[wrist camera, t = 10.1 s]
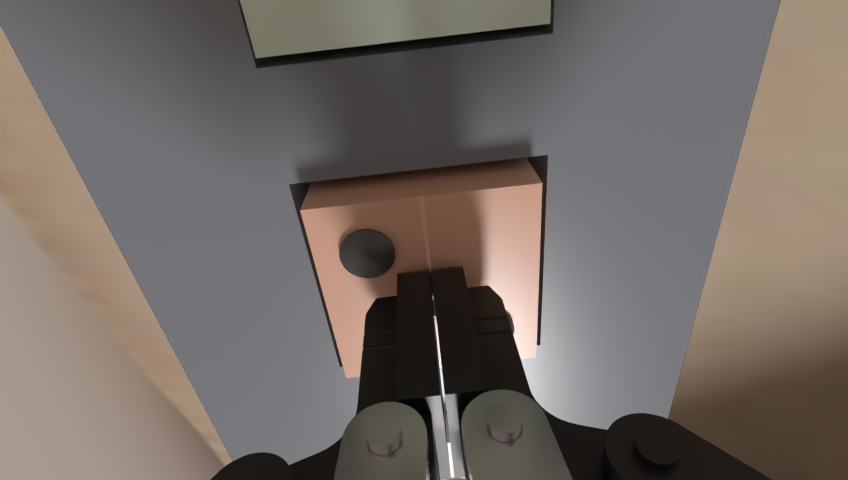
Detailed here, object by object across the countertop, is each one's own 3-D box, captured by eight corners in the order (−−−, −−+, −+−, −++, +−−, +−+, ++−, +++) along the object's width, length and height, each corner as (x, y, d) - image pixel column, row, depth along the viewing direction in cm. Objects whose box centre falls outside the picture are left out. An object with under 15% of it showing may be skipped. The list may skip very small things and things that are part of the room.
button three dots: (327, 137, 13) (299, 213, 9) (501, 117, 13) (544, 185, 9) (358, 276, 16) (345, 382, 12) (503, 260, 16) (537, 361, 12)
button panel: (-34, -371, 8) (-330, -595, 5) (744, -473, 8) (989, -777, 5) (300, 458, 21) (281, 553, 18) (602, 426, 21) (641, 516, 18)
